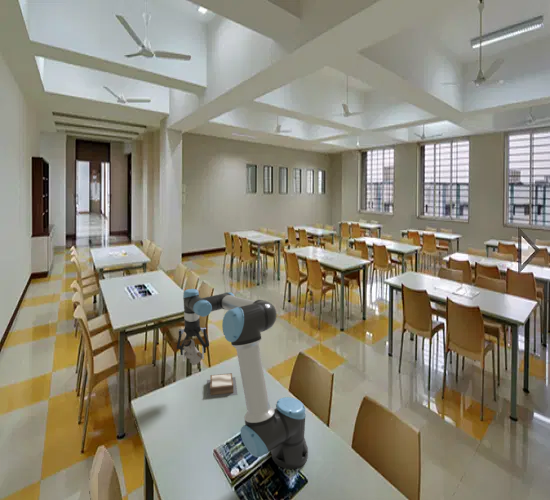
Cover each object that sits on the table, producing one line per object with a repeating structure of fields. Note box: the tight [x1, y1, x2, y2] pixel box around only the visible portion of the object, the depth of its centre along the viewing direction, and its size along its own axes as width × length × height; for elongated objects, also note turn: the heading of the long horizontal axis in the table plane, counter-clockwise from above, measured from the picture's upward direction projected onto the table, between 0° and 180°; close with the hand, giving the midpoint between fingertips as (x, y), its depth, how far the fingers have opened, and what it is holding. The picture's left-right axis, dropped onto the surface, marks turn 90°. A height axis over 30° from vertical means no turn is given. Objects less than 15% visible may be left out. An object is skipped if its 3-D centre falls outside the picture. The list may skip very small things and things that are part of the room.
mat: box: [206, 376, 238, 399], centre depth 170 cm, size 16×16×1 cm
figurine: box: [182, 337, 202, 366], centre depth 162 cm, size 9×10×15 cm
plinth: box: [209, 373, 234, 395], centre depth 169 cm, size 12×12×4 cm
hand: (193, 359), depth 163 cm, fingers closed on figurine, 9 cm apart
